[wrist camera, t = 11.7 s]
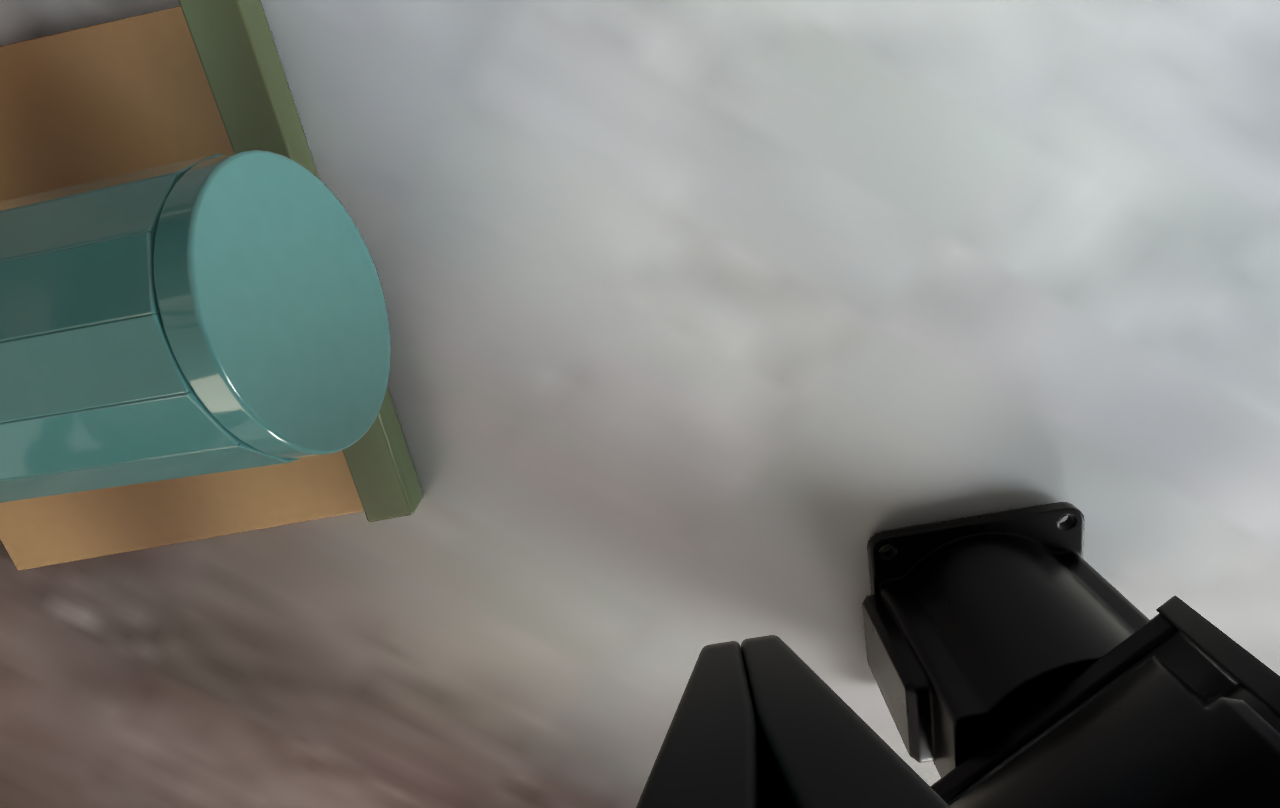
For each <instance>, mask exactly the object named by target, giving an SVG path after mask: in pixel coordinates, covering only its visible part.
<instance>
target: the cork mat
mask: <svg viewBox="0 0 1280 808" xmlns="http://www.w3.org/2000/svg"><path fill="white" fill-rule="evenodd" d="M179 3H180V6H179V7H174V8H170V9H165V10H161V11H156V12H152V13H147V14H143V15H138V16H134V17H129V18H125V19H121V20H116V21H112V22H107V23H103V24H98V25H94V26H89V27H85V28H80V29H76V30H71V31H67V32H62V33H58V34H53V35H49V36H44V37H40V38H35V39H31V40H26V41H22V42H18V43H13V44H9V45H4V46H0V202H2V201H7V200H11V199H16V198H20V197H24V196H29V195H33V194H38V193H42V192H47V191H51V190H56V189H60V188H65V187H69V186H73V185H78V184H82V183H87V182H91V181H96V180H100V179H105V178H109V177H114V176H118V175H122V174H127V173H131V172H136V171H140V170H145V169H149V168H154V167H158V166H162V165H167V164H171V163H176V162H180V161H185V160H189V159H194V158H198V157H203V156H207V155H211V154H216V153H217V154H219V153H221V154H225V155H226V154H231V153H235V152H239V151H246V150H264V151H270V152H273V153H277V154H280V155H283V156H286V157H288V158H290V159H292V160H294V161H296V162H297V163H299V164H301V165H302V166H304V167H305V168H307V169H308V170H309V171H311V172H312V173H313V174H314V175H315V176H317V177H318V174H317V171H316V168H315V165H314V162H313V159H312V156H311V153H310V150H309V147H308V144H307V141H306V137H305V134H304V131H303V128H302V125H301V122H300V119H299V116H298V113H297V110H296V107H295V104H294V101H293V98H292V95H291V92H290V89H289V86H288V83H287V80H286V77H285V74H284V71H283V68H282V65H281V61H280V58H279V55H278V52H277V49H276V46H275V43H274V40H273V37H272V34H271V31H270V28H269V25H268V22H267V19H266V16H265V13H264V10H263V7H262V4H261V1H260V0H179ZM318 178H319V177H318ZM422 498H423V493H422V490H421V487H420V484H419V481H418V478H417V475H416V472H415V469H414V466H413V463H412V460H411V457H410V454H409V451H408V448H407V445H406V442H405V438H404V435H403V432H402V429H401V426H400V423H399V420H398V417H397V414H396V411H395V408H394V405H393V402H392V399H391V396H390V393H389V390H388V387H387V390H386V394H385V398H384V401H383V404H382V407H381V409H380V412H379V414H378V416H377V418H376V420H375V422H374V423H373V425H372V426H371V427H370V429H369V430H368V432H367V433H366V434H365V435H364V436H363V437H362V438H361V439H360V440H359V441H357V442H356V443H354V444H353V445H351V446H350V447H348V448H347V449H344V450H342V451H339V452H337V453H332V454H326V455H320V456H313V457H305V458H302V459H299V460H296V461H293V462H290V463H284V464H277V465H270V466H262V467H255V468H248V469H241V470H234V471H226V472H219V473H212V474H205V475H197V476H190V477H183V478H176V479H168V480H161V481H154V482H147V483H139V484H132V485H125V486H118V487H111V488H103V489H96V490H89V491H82V492H74V493H67V494H60V495H53V496H45V497H38V498H31V499H24V500H17V501H9V502H2V503H0V540H1V542H2V543H3V545H4V547H5V549H6V550H7V552H8V554H9V556H10V557H11V559H12V561H13V563H14V564H15V566H16V568H17V569H18V570H24V569H30V568H36V567H42V566H47V565H53V564H59V563H65V562H71V561H76V560H82V559H88V558H94V557H99V556H105V555H111V554H117V553H123V552H128V551H134V550H140V549H146V548H152V547H157V546H163V545H169V544H175V543H181V542H186V541H192V540H198V539H204V538H210V537H215V536H221V535H227V534H233V533H239V532H244V531H250V530H256V529H262V528H267V527H273V526H279V525H285V524H291V523H296V522H302V521H308V520H314V519H320V518H325V517H331V516H337V515H343V514H349V513H354V512H360V511H365V514H366V517H367V520H368V521H369V522H372V521H378V520H384V519H390V518H396V517H401V516H407V515H411V514H413V513H414V511H415V509H416V508H417V506H418V505H419V503H420V501H421V500H422Z"/></svg>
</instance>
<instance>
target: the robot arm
mask: <svg viewBox="0 0 1280 808" xmlns="http://www.w3.org/2000/svg"><path fill="white" fill-rule="evenodd" d="M1067 515H1069V516H1068V519H1067V520H1066V521H1065V522H1063V523H1059V522H1060V520H1061V519H1062V518H1063V517H1065V516H1067ZM884 545H891V547H890V548H889V549H888V550H887V551H885V552H879V551H880V549H881V547H882V546H884ZM1083 546H1084V516H1083V514H1082V513H1081V512H1080V510H1078V509H1077V508H1076V507H1075V506H1073V505H1072V504H1070V503H1067V502H1059V503H1052V504H1046V505H1040V506H1034V507H1028V508H1022V509H1016V510H1009V511H1003V512H997V513H991V514H985V515H979V516H973V517H966V518H960V519H954V520H948V521H942V522H936V523H930V524H924V525H917V526H911V527H905V528H899V529H893V530H887V531H881V532H878V533H876V534H874V535H873V536H872V537H871V538H870V540H869V541H868V546H867V550H868V561H869V573H870V584H871V595H868V596H867V597H866V598H865V600H864V601H863V603H862V608H863V619H864V629H865V640H866V650H867V660H868V664H869V666H870V669H871V671H872V673H873V675H874V678H875V680H876V682H877V684H878V686H879V689H880V691H881V693H882V695H883V698H884V700H885V702H886V704H887V707H888V709H889V711H890V713H891V715H892V718H893V720H894V722H895V724H896V727H897V729H898V731H899V733H900V735H901V738H902V740H903V742H904V744H905V747H906V749H907V751H908V753H909V755H910V756H911V757H912V758H914V759H915V760H916V761H918V762H927V761H933V762H934V764H935V766H936V768H937V770H938V772H939V774H940V776H941V779H940V780H938V781H937V782H936V783H934V784H933V785H932V786H929V785H928V784H927V783H926V782H925V781H924V780H923V779H922V778H921V777H920V776H919V775H918V774H917V773H916V772H915V771H914V770H913V769H912V768H911V767H910V766H909V765H908V764H906V763H905V762H904V761H903V760H902V759H901V758H900V757H899V756H898V755H897V754H896V753H895V752H894V751H893V750H892V749H891V748H890V747H889V746H888V745H887V744H886V743H885V742H884V741H883V740H882V739H881V738H880V737H879V736H878V735H877V734H876V733H875V732H874V731H873V730H872V729H871V728H870V727H869V726H868V725H867V724H866V723H865V722H864V721H863V720H862V719H861V718H860V717H859V716H858V715H857V714H856V713H855V712H854V711H853V710H852V709H851V708H850V707H849V706H848V705H847V704H846V703H845V702H844V701H843V700H842V699H841V698H840V697H839V696H838V695H837V694H836V693H835V692H834V691H833V690H832V689H831V688H830V687H829V686H828V685H827V684H826V683H825V682H824V681H823V680H822V679H821V678H820V677H819V676H818V675H817V674H816V673H815V672H814V671H813V670H812V669H810V668H809V667H808V666H807V665H806V664H805V663H804V662H803V661H802V660H801V659H800V658H799V657H798V656H797V655H796V654H795V653H794V652H793V651H792V650H791V649H790V648H789V647H788V646H787V645H786V644H785V643H784V642H783V641H782V640H781V639H780V638H779V637H777V636H775V635H769V636H763V637H756V638H750V639H745V640H744V641H743V642H742V644H741V647H740V645H739V643H738V642H735V641H731V642H724V643H718V644H711V645H707V646H705V647H704V648H703V649H702V651H701V653H700V655H699V657H698V660H697V662H696V665H695V667H694V669H693V672H692V674H691V677H690V679H689V681H688V684H687V686H686V689H685V691H684V693H683V696H682V698H681V701H680V703H679V706H678V708H677V710H676V713H675V715H674V718H673V720H672V722H671V725H670V727H669V730H668V732H667V734H666V737H665V739H664V742H663V744H662V747H661V749H660V751H659V754H658V756H657V759H656V761H655V763H654V766H653V768H652V771H651V773H650V775H649V778H648V780H647V783H646V785H645V787H644V790H643V792H642V795H641V797H640V800H639V802H638V804H637V807H636V808H1280V676H1279V675H1277V674H1276V673H1275V672H1273V671H1272V670H1271V669H1269V668H1268V667H1267V666H1266V665H1264V664H1263V663H1262V662H1260V661H1259V660H1258V659H1257V658H1255V657H1254V656H1253V655H1251V654H1250V653H1249V652H1248V651H1246V650H1245V649H1244V648H1242V647H1241V646H1240V645H1239V644H1237V643H1236V642H1235V641H1233V640H1232V639H1231V638H1229V637H1228V636H1227V635H1226V634H1224V633H1223V632H1222V631H1220V630H1219V629H1218V628H1217V627H1215V626H1214V625H1213V624H1211V623H1210V622H1209V621H1208V620H1206V619H1205V618H1204V617H1202V616H1201V615H1200V614H1199V613H1197V612H1196V611H1195V610H1193V609H1192V608H1191V607H1189V606H1188V605H1187V604H1186V603H1184V602H1183V601H1182V600H1180V599H1179V598H1178V597H1177V596H1174V597H1172V598H1171V599H1170V600H1168V601H1167V602H1166V603H1164V604H1163V605H1162V606H1160V607H1159V608H1158V609H1156V610H1157V611H1158V612H1159V614H1158V615H1157V616H1155V617H1154V618H1153V619H1151V620H1149V619H1148V618H1147V617H1146V616H1145V615H1144V614H1143V613H1142V612H1140V611H1139V610H1138V609H1137V608H1136V607H1135V606H1134V605H1133V604H1132V603H1131V602H1129V601H1128V600H1127V599H1126V598H1125V597H1124V596H1123V595H1122V594H1121V593H1120V592H1118V591H1117V590H1116V589H1115V588H1114V587H1113V586H1112V585H1111V584H1110V583H1109V582H1108V581H1106V580H1105V579H1104V578H1103V577H1102V576H1101V575H1100V574H1099V573H1098V572H1097V571H1095V570H1094V569H1093V568H1092V567H1091V566H1090V565H1089V564H1088V563H1087V562H1086V561H1085V560H1083Z"/></svg>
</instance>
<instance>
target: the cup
mask: <svg viewBox="0 0 1280 808" xmlns="http://www.w3.org/2000/svg"><path fill="white" fill-rule="evenodd" d="M390 361H391V340H390V328H389V320H388V313H387V308H386V303H385V298H384V294H383V290H382V287H381V283H380V280H379V276H378V274H377V271H376V268H375V265H374V262H373V260H372V257H371V255H370V253H369V250H368V248H367V246H366V244H365V242H364V240H363V238H362V236H361V234H360V232H359V230H358V228H357V227H356V225H355V223H354V222H353V220H352V218H351V217H350V215H349V214H348V212H347V211H346V209H345V208H344V206H343V205H342V204H341V202H340V201H339V200H338V199H337V197H336V196H335V195H334V194H333V193H332V191H331V190H330V189H329V188H328V187H327V186H326V185H325V184H324V183H323V182H322V181H321V180H320V179H319V178H318V177H317V176H315V175H314V174H313V173H312V172H311V171H309V170H308V169H307V168H305V167H304V166H302V165H301V164H299V163H297V162H296V161H294V160H292V159H290V158H288V157H286V156H283V155H280V154H277V153H273V152H270V151H264V150H246V151H239V152H235V153H231V154H226V155H225V154H221V153H219V154H217V153H216V154H211V155H207V156H203V157H198V158H194V159H189V160H185V161H180V162H176V163H171V164H167V165H162V166H158V167H154V168H149V169H145V170H140V171H136V172H131V173H127V174H122V175H118V176H114V177H109V178H105V179H100V180H96V181H91V182H87V183H82V184H78V185H73V186H69V187H65V188H60V189H56V190H51V191H47V192H42V193H38V194H33V195H29V196H24V197H20V198H16V199H11V200H7V201H2V202H0V503H2V502H9V501H17V500H24V499H31V498H38V497H45V496H53V495H60V494H67V493H74V492H82V491H89V490H96V489H103V488H111V487H118V486H125V485H132V484H139V483H147V482H154V481H161V480H168V479H176V478H183V477H190V476H197V475H205V474H212V473H219V472H226V471H234V470H241V469H248V468H255V467H262V466H270V465H277V464H284V463H290V462H293V461H296V460H299V459H302V458H305V457H313V456H320V455H326V454H332V453H337V452H339V451H342V450H344V449H347V448H348V447H350V446H351V445H353V444H354V443H356V442H357V441H359V440H360V439H361V438H362V437H363V436H364V435H365V434H366V433H367V432H368V430H369V429H370V427H371V426H372V425H373V423H374V422H375V420H376V418H377V416H378V414H379V412H380V409H381V407H382V404H383V401H384V398H385V394H386V390H387V386H388V380H389V374H390Z"/></svg>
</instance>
